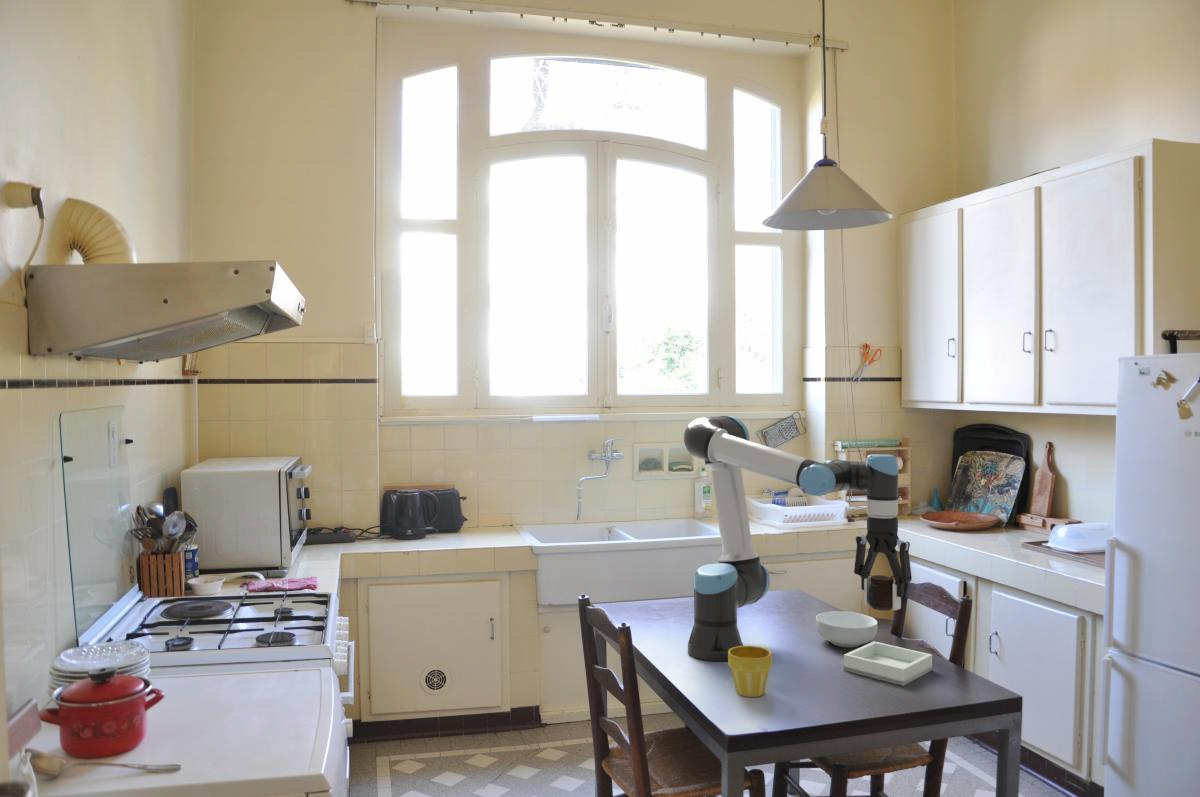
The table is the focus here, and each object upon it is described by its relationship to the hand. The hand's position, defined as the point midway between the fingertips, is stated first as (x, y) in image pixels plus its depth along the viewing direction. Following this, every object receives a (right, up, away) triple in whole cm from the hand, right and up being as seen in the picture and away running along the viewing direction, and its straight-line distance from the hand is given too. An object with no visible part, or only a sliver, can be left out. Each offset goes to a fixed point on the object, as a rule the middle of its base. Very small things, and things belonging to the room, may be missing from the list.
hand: (882, 606), depth 216 cm
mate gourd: (0, -1, 0) cm, 1 cm away
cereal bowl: (-2, -17, +26) cm, 31 cm away
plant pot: (-36, -18, -12) cm, 42 cm away
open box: (+2, -17, +3) cm, 18 cm away
